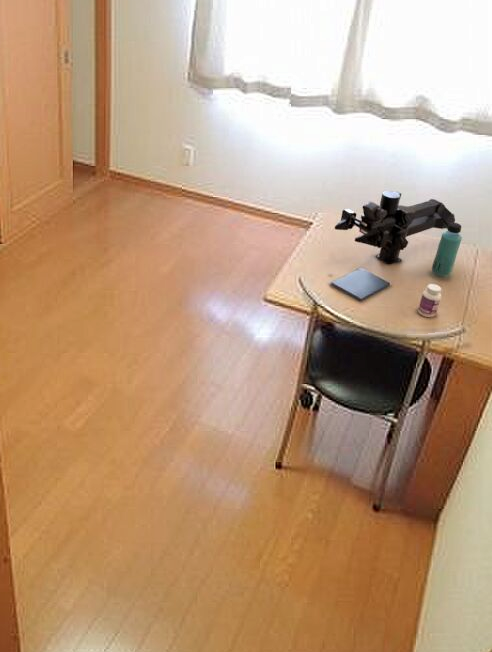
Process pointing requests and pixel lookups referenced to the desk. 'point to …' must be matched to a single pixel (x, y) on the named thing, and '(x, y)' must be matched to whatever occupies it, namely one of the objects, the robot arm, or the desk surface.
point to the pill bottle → (430, 301)
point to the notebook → (360, 284)
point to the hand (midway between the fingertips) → (345, 233)
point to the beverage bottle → (447, 250)
